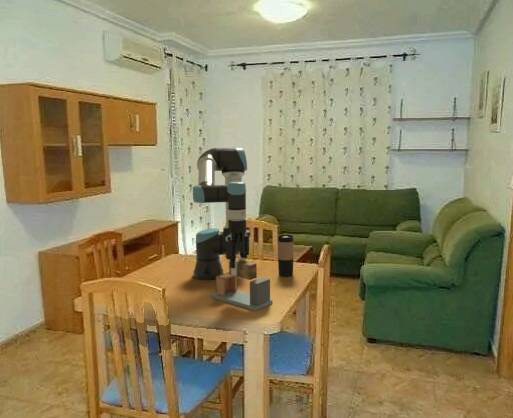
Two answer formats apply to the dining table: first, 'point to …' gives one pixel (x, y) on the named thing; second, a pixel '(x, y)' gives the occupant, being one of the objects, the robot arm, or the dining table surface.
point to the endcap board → (249, 295)
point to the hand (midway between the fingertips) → (238, 273)
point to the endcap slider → (225, 283)
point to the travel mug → (285, 255)
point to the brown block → (245, 269)
